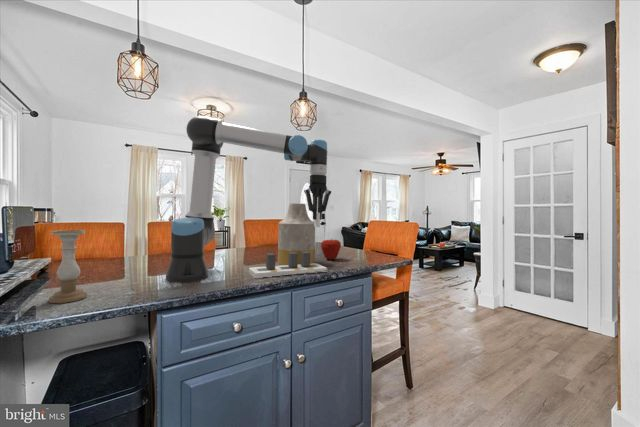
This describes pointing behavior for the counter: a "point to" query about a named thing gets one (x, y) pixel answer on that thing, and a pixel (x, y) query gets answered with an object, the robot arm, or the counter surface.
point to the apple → (330, 248)
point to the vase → (296, 234)
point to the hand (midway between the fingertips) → (316, 226)
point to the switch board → (284, 270)
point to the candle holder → (68, 269)
